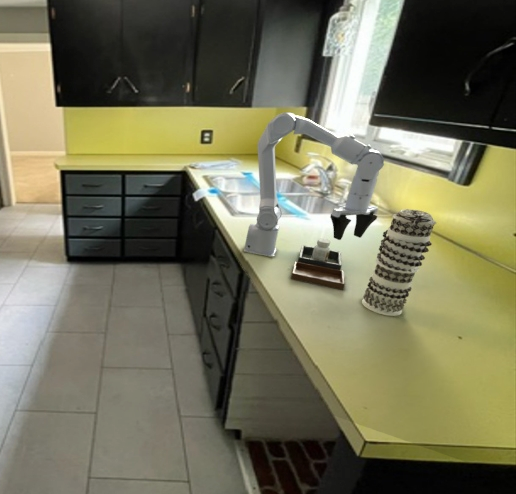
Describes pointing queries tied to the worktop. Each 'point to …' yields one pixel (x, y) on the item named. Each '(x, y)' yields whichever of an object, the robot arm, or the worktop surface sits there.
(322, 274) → the tray
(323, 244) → the pill bottle
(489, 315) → the worktop surface
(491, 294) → the worktop surface
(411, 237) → the decorative candle
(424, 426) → the worktop surface
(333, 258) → the dark grey square frame
